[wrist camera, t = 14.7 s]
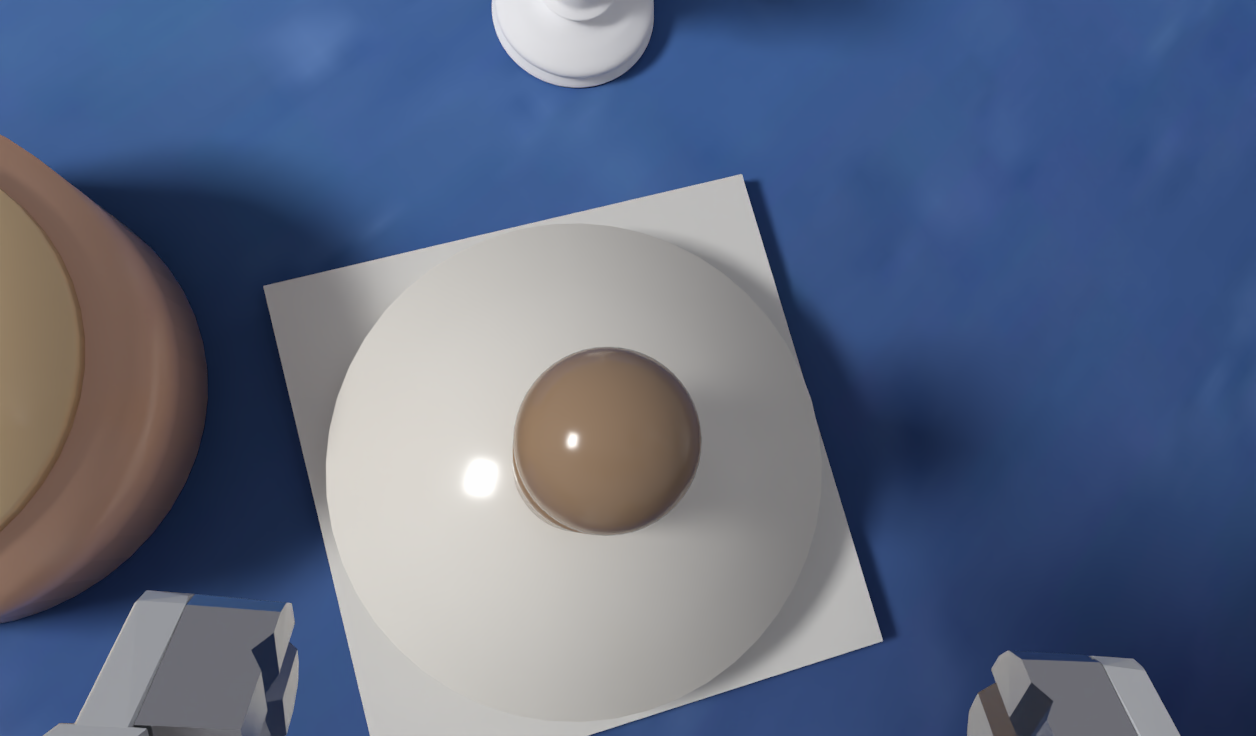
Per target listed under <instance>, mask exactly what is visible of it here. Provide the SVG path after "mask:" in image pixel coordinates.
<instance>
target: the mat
mask: <svg viewBox="0 0 1256 736" xmlns="http://www.w3.org/2000/svg"><path fill="white" fill-rule="evenodd" d="M576 223H582V224H594V225H605V226H613V227H618V228H623V229H627V230H632V231H636V232H641V233H644V234H647V235H650V236H653V237H655V238H658V239H661V240H664V241H667V242H669V243H672V244H674V245H676V246H678V247H680V248H682V249H684V250H686V251H688V252H690V253H692V254H694V255H696V256H698V257H700V258H701V259H703V260H704V261H705V262H707V263H708V264H710V265H711V266H713V267H714V268H716V269H717V270H719V271H720V272H722V273H723V274H725V275H726V276H727V277H728V278H729V279H731V280H732V281H733V282H734V283H735V284H736V285H737V286H739V287H740V288H741V289H742V290H743V291H744V292H745V293H747V294H748V295H749V296H750V298H751V299H752V300H753V301H754V302H755V303H756V304H757V305H758V306H759V308H760V309H761V310H762V311H763V312H764V313H765V314H766V315H767V317H768V318H769V319H770V321H771V322H772V323H773V325H774V326H775V328H776V329H777V331H778V332H779V334H780V335H781V336H782V338H783V339H784V341H785V342H786V344H787V346H788V348H789V350H790V352H791V353H792V355H793V357H794V359H795V361H796V363H797V365H798V367H799V369H800V371H801V368H800V365H799V361H798V358H797V355H796V352H795V348H794V345H793V342H792V338H791V335H790V332H789V328H788V325H787V322H786V318H785V315H784V312H783V309H782V305H781V302H780V299H779V295H778V292H777V289H776V285H775V282H774V279H773V275H772V272H771V269H770V266H769V262H768V259H767V256H766V252H765V249H764V246H763V242H762V239H761V236H760V233H759V229H758V226H757V223H756V219H755V216H754V213H753V209H752V206H751V203H750V199H749V196H748V193H747V190H746V186H745V183H744V180H743V176H742V174H740V175H736V176H732V177H727V178H723V179H719V180H715V181H710V182H706V183H702V184H697V185H693V186H689V187H685V188H680V189H676V190H672V191H667V192H663V193H659V194H655V195H650V196H646V197H642V198H637V199H633V200H629V201H625V202H620V203H616V204H612V205H608V206H603V207H599V208H595V209H590V210H586V211H582V212H578V213H573V214H569V215H565V216H560V217H556V218H552V219H548V220H543V221H539V222H535V223H530V224H526V225H522V226H518V227H513V228H509V229H505V230H500V231H496V232H492V233H488V234H483V235H479V236H475V237H471V238H466V239H462V240H458V241H453V242H449V243H445V244H441V245H436V246H432V247H428V248H423V249H419V250H415V251H411V252H406V253H402V254H398V255H393V256H389V257H385V258H381V259H376V260H372V261H368V262H363V263H359V264H355V265H351V266H346V267H342V268H338V269H333V270H329V271H325V272H321V273H316V274H312V275H308V276H304V277H299V278H295V279H291V280H286V281H282V282H278V283H274V284H269V285H265V286H263V288H264V292H265V296H266V300H267V305H268V309H269V313H270V317H271V321H272V326H273V330H274V334H275V338H276V342H277V347H278V351H279V355H280V359H281V363H282V368H283V372H284V376H285V380H286V384H287V389H288V393H289V397H290V401H291V405H292V410H293V414H294V418H295V422H296V426H297V431H298V435H299V439H300V443H301V447H302V452H303V456H304V460H305V464H306V468H307V473H308V477H309V481H310V485H311V489H312V494H313V498H314V502H315V506H316V510H317V515H318V519H319V523H320V527H321V531H322V536H323V540H324V544H325V548H326V552H327V557H328V561H329V565H330V569H331V573H332V578H333V582H334V586H335V590H336V594H337V599H338V603H339V607H340V611H341V615H342V620H343V624H344V628H345V632H346V636H347V641H348V645H349V649H350V653H351V657H352V662H353V666H354V670H355V674H356V678H357V683H358V687H359V691H360V695H361V699H362V704H363V708H364V712H365V716H366V720H367V725H368V729H369V733H370V736H588V735H591V734H594V733H598V732H601V731H604V730H607V729H610V728H613V727H616V726H619V725H623V724H626V723H629V722H632V721H635V720H638V719H641V718H644V717H647V716H651V715H654V714H657V713H660V712H663V711H666V710H669V709H672V708H676V707H679V706H682V705H685V704H688V703H691V702H694V701H697V700H701V699H704V698H707V697H710V696H713V695H716V694H719V693H722V692H726V691H729V690H732V689H735V688H738V687H741V686H744V685H747V684H751V683H754V682H757V681H760V680H763V679H766V678H769V677H772V676H776V675H779V674H782V673H785V672H788V671H791V670H794V669H797V668H800V667H804V666H807V665H810V664H813V663H816V662H819V661H822V660H825V659H829V658H832V657H835V656H838V655H841V654H844V653H847V652H850V651H854V650H857V649H860V648H863V647H866V646H869V645H872V644H875V643H879V642H882V641H883V639H882V636H881V633H880V629H879V626H878V623H877V619H876V616H875V613H874V609H873V606H872V603H871V599H870V596H869V593H868V590H867V586H866V583H865V580H864V576H863V573H862V570H861V566H860V563H859V560H858V556H857V553H856V550H855V547H854V543H853V540H852V537H851V533H850V530H849V527H848V523H847V520H846V517H845V513H844V510H843V507H842V504H841V500H840V497H839V494H838V490H837V487H836V484H835V480H834V477H833V474H832V471H831V467H830V464H829V461H828V457H827V454H826V451H825V447H824V444H823V441H822V437H821V434H820V431H819V440H820V449H821V459H822V478H821V498H820V505H819V511H818V518H817V525H816V528H815V532H814V535H813V539H812V543H811V546H810V550H809V553H808V556H807V559H806V561H805V563H804V566H803V568H802V570H801V573H800V575H799V577H798V580H797V582H796V584H795V586H794V588H793V590H792V592H791V593H790V595H789V597H788V598H787V600H786V602H785V603H784V605H783V607H782V608H781V610H780V612H779V613H778V615H777V616H776V617H775V619H774V620H773V621H772V622H771V624H770V625H769V626H768V628H767V629H766V630H765V631H764V633H763V634H762V635H761V637H760V638H759V639H758V640H757V641H756V642H755V643H754V644H753V645H752V646H751V647H750V648H749V649H748V650H747V651H746V652H745V653H744V654H743V655H742V656H741V657H740V658H739V659H738V660H737V661H736V662H735V663H733V664H732V665H731V666H729V667H728V668H727V669H725V670H724V671H723V672H721V673H720V674H719V675H717V676H716V677H715V678H713V679H712V680H711V681H709V682H708V683H706V684H704V685H702V686H701V687H699V688H697V689H695V690H693V691H692V692H690V693H688V694H686V695H684V696H683V697H681V698H679V699H676V700H674V701H671V702H669V703H666V704H664V705H661V706H659V707H656V708H653V709H651V710H648V711H644V712H640V713H636V714H632V715H628V716H624V717H620V718H616V719H606V720H596V721H587V722H568V721H546V720H540V719H535V718H529V717H523V716H517V715H513V714H510V713H507V712H504V711H500V710H497V709H494V708H491V707H488V706H485V705H482V704H480V703H478V702H476V701H474V700H471V699H469V698H467V697H465V696H463V695H461V694H459V693H457V692H455V691H453V690H451V689H449V688H448V687H446V686H445V685H443V684H442V683H440V682H439V681H437V680H436V679H434V678H433V677H431V676H430V675H428V674H427V673H425V672H424V671H422V670H421V669H420V668H419V667H418V666H417V665H416V664H414V663H413V662H412V661H411V660H410V659H409V658H408V657H406V656H405V655H404V654H403V653H402V652H401V651H400V650H399V649H397V647H396V646H395V645H394V644H393V643H392V642H391V640H390V639H389V638H388V637H387V636H386V635H385V634H384V632H383V631H382V630H381V629H380V628H379V627H378V625H377V624H376V623H375V622H374V620H373V619H372V617H371V615H370V614H369V612H368V611H367V609H366V608H365V606H364V605H363V603H362V601H361V600H360V598H359V597H358V595H357V594H356V592H355V589H354V587H353V585H352V583H351V581H350V579H349V576H348V574H347V572H346V570H345V568H344V566H343V564H342V561H341V557H340V554H339V551H338V548H337V545H336V541H335V538H334V535H333V532H332V526H331V520H330V514H329V508H328V502H327V491H326V456H327V446H328V437H329V429H330V425H331V421H332V417H333V412H334V408H335V404H336V400H337V397H338V394H339V392H340V389H341V386H342V384H343V381H344V379H345V376H346V374H347V371H348V368H349V366H350V364H351V363H352V361H353V359H354V357H355V355H356V353H357V352H358V350H359V348H360V346H361V344H362V343H363V341H364V339H365V337H366V336H367V335H368V333H369V332H370V331H371V329H372V328H373V326H374V325H375V324H376V322H377V321H378V320H379V318H380V317H381V316H382V314H383V313H384V312H385V311H386V310H387V308H388V307H389V306H390V305H391V304H392V303H393V302H394V301H395V300H396V299H397V298H398V297H399V296H400V295H401V294H402V293H403V292H404V291H405V290H406V289H407V288H408V287H409V286H410V285H412V284H413V283H414V282H415V281H417V280H418V279H419V278H420V277H422V276H423V275H424V274H425V273H427V272H428V271H429V270H430V269H432V268H433V267H435V266H436V265H438V264H440V263H441V262H443V261H445V260H446V259H448V258H449V257H451V256H453V255H454V254H456V253H458V252H459V251H462V250H464V249H466V248H468V247H471V246H473V245H475V244H477V243H480V242H482V241H484V240H486V239H489V238H492V237H495V236H499V235H502V234H505V233H509V232H512V231H515V230H519V229H525V228H531V227H537V226H543V225H549V224H576ZM801 373H802V371H801ZM802 376H803V375H802ZM803 379H804V378H803ZM816 422H817V421H816ZM817 426H818V424H817ZM818 430H819V428H818Z"/></svg>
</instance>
